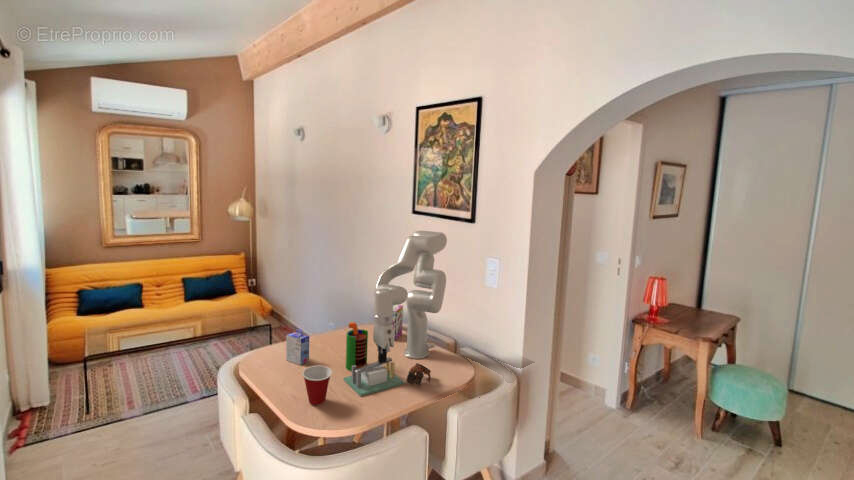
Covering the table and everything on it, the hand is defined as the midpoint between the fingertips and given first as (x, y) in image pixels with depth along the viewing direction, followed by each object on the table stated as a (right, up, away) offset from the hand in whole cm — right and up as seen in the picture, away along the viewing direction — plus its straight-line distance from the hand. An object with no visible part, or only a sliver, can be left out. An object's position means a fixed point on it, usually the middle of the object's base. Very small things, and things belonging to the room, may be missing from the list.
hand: (382, 361), depth 178 cm
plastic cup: (-23, -10, -17) cm, 30 cm away
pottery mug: (+15, -9, +1) cm, 18 cm away
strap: (-3, -2, -2) cm, 4 cm away
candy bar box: (+2, -2, +50) cm, 50 cm away
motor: (-13, -6, +13) cm, 20 cm away
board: (-3, -8, 0) cm, 9 cm away
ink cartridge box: (-40, -5, +17) cm, 44 cm away
